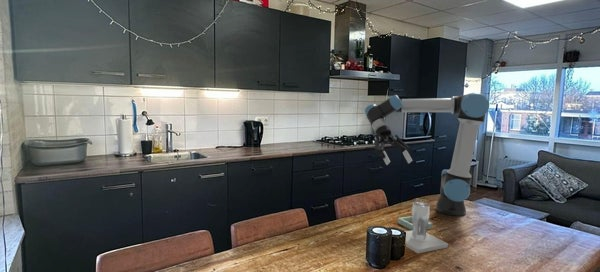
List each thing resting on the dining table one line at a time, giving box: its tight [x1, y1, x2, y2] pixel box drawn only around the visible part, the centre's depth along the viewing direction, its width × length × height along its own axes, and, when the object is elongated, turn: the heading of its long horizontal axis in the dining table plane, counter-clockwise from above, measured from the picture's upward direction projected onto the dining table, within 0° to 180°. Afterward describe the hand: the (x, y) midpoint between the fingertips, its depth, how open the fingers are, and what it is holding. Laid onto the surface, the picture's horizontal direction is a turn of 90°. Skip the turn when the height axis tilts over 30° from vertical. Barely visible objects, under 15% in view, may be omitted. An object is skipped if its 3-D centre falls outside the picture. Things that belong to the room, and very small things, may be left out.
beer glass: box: [411, 201, 431, 241], centre depth 133 cm, size 7×7×15 cm
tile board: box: [405, 230, 449, 254], centre depth 134 cm, size 16×16×2 cm
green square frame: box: [397, 215, 433, 231], centre depth 152 cm, size 11×11×2 cm
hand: (399, 162), depth 154 cm, fingers open, 13 cm apart
